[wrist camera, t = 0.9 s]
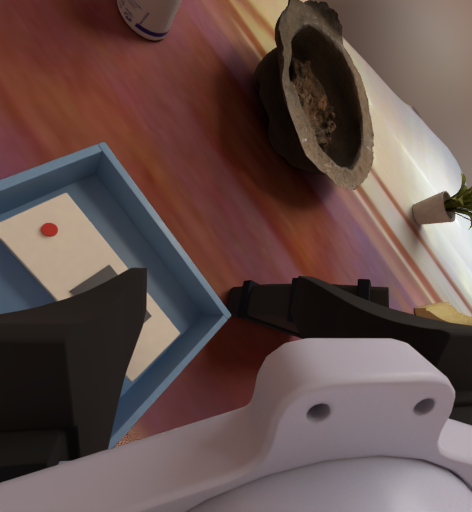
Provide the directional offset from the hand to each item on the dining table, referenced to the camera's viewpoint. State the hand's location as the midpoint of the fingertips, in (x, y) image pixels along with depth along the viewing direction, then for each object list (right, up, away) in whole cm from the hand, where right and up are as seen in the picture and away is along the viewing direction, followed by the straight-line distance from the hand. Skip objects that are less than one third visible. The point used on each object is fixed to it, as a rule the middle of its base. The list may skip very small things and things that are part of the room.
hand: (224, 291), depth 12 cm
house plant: (+43, +11, +50) cm, 67 cm away
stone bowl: (+10, +22, +29) cm, 38 cm away
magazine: (+5, -5, +20) cm, 21 cm away
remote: (-11, -1, +9) cm, 14 cm away
